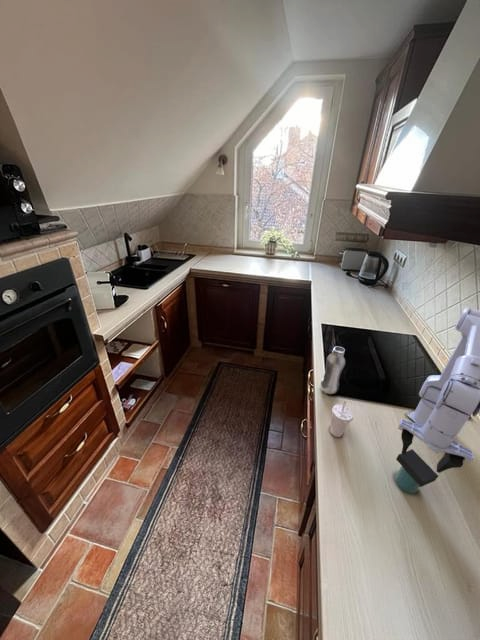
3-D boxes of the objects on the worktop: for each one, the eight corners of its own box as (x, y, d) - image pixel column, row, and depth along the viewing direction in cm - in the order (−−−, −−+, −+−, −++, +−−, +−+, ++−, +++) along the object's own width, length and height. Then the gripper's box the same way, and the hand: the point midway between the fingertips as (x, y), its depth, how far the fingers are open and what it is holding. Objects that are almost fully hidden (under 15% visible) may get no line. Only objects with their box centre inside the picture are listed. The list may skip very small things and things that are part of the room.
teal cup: (404, 470, 73) (412, 456, 70) (422, 488, 69) (431, 475, 65) (390, 477, 71) (398, 464, 68) (408, 497, 67) (417, 483, 64)
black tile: (395, 459, 69) (398, 454, 68) (409, 453, 70) (412, 449, 69) (420, 487, 63) (424, 482, 62) (435, 480, 64) (438, 475, 63)
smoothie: (342, 423, 86) (352, 394, 79) (349, 440, 81) (361, 410, 74) (323, 423, 86) (332, 394, 79) (330, 441, 80) (339, 410, 73)
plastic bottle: (337, 398, 96) (349, 356, 86) (318, 393, 98) (329, 352, 88) (337, 386, 101) (349, 346, 91) (319, 382, 103) (329, 342, 93)
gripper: (404, 420, 59) (386, 454, 66) (485, 457, 52) (455, 492, 58) (408, 401, 64) (391, 435, 71) (482, 433, 57) (455, 467, 63)
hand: (420, 459), depth 65 cm, fingers open, 7 cm apart
